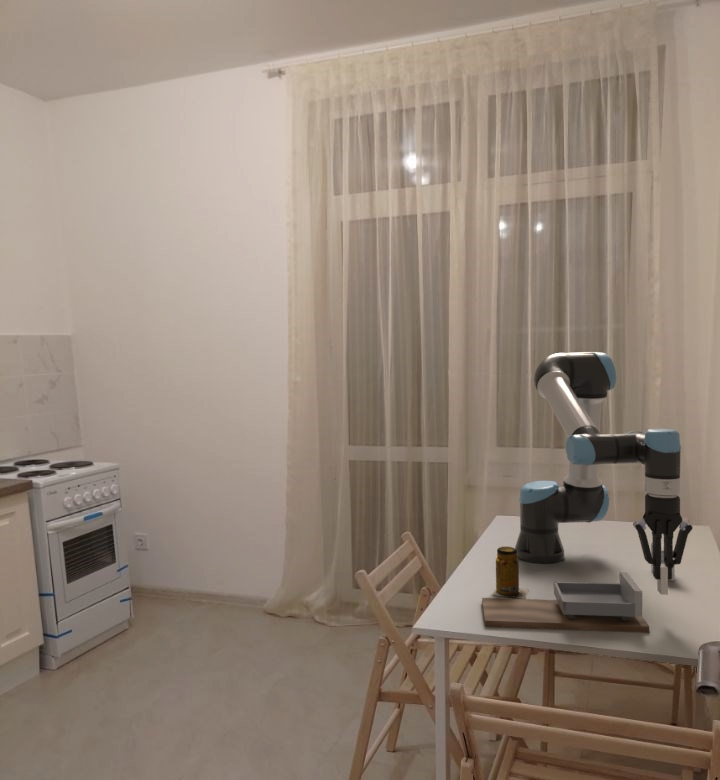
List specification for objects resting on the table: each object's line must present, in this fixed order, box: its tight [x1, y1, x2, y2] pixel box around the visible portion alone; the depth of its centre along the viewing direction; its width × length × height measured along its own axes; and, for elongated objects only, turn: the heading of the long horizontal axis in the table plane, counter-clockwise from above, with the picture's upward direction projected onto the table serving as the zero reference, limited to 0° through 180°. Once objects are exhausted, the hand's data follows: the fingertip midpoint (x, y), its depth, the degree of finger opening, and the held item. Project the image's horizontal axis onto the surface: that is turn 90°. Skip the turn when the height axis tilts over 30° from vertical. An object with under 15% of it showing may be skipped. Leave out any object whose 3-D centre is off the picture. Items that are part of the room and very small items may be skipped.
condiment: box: [492, 546, 529, 599], centre depth 169 cm, size 7×8×12 cm
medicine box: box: [650, 542, 676, 582], centre depth 179 cm, size 8×4×9 cm, turn 168°
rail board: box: [481, 597, 650, 633], centre depth 153 cm, size 14×37×2 cm, turn 82°
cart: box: [553, 571, 643, 622], centre depth 152 cm, size 13×18×8 cm
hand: (662, 592), depth 149 cm, fingers closed
